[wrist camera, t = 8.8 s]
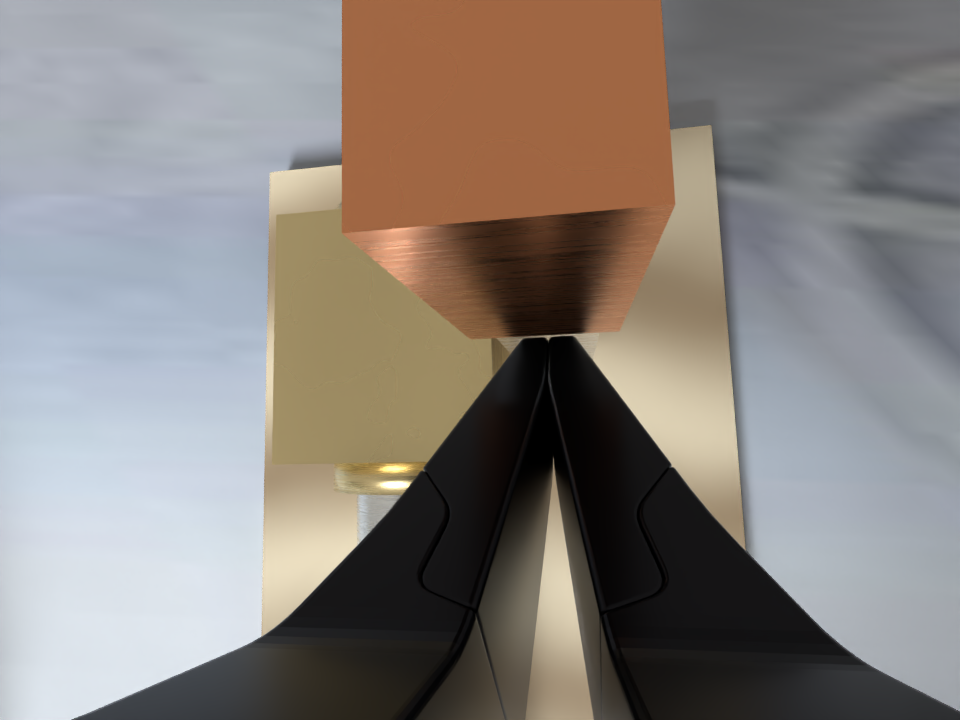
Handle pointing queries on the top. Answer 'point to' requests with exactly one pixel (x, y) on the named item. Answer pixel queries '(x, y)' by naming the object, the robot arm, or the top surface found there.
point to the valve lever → (508, 157)
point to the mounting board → (644, 388)
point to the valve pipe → (363, 366)
